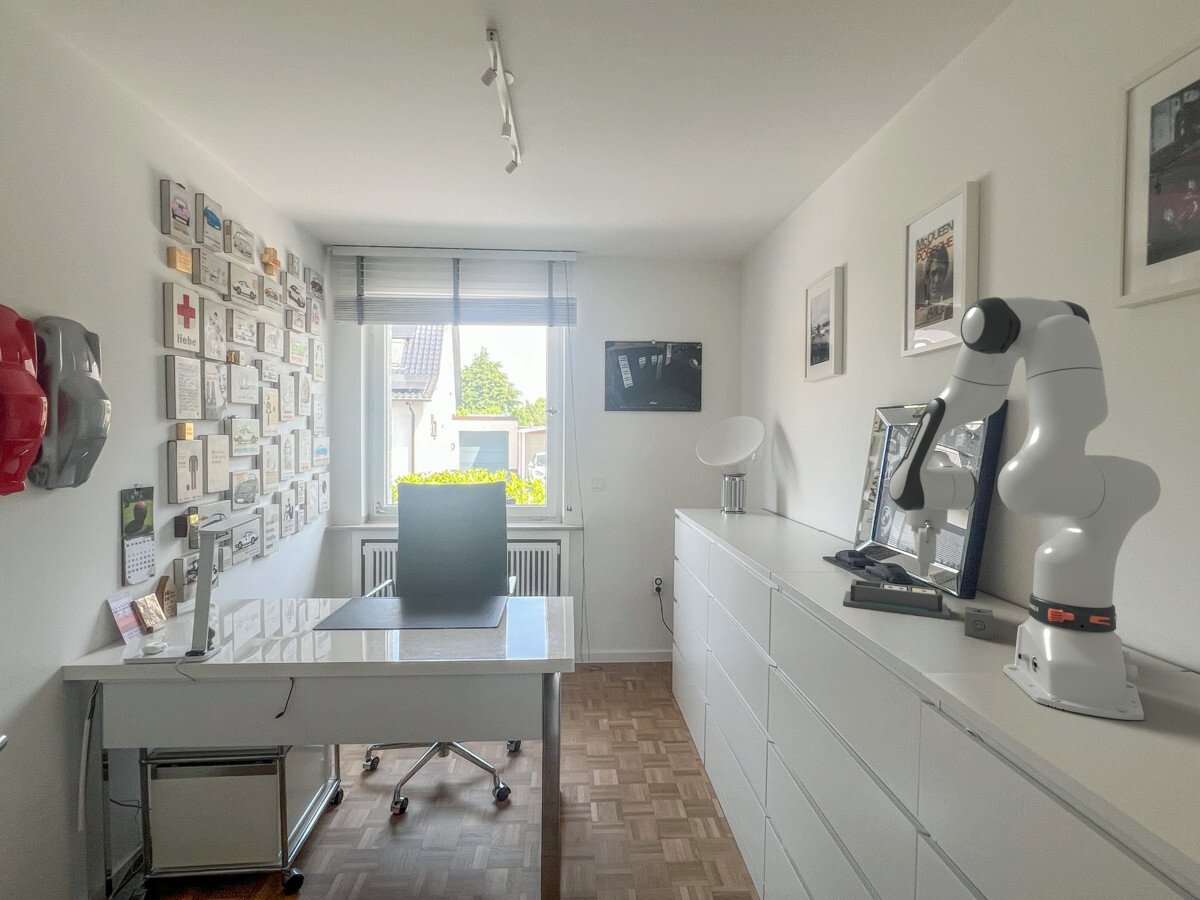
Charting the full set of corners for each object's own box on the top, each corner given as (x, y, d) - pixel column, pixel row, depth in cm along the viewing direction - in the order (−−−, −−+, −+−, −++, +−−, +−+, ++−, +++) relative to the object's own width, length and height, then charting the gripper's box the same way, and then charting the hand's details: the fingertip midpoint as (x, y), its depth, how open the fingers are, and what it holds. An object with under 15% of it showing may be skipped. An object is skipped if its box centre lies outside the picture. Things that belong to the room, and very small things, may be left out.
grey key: (906, 599, 156) (907, 590, 156) (883, 596, 158) (884, 588, 158) (906, 594, 161) (906, 586, 161) (884, 591, 163) (884, 584, 163)
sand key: (935, 602, 154) (936, 594, 154) (912, 599, 156) (912, 591, 156) (934, 597, 158) (934, 589, 158) (911, 595, 160) (912, 587, 160)
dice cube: (964, 635, 138) (965, 611, 138) (964, 629, 142) (965, 606, 142) (992, 639, 135) (993, 615, 135) (991, 633, 140) (992, 610, 140)
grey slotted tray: (949, 619, 150) (950, 598, 149) (842, 605, 159) (843, 586, 159) (946, 607, 160) (946, 588, 160) (846, 594, 170) (846, 576, 170)
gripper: (944, 525, 146) (941, 586, 147) (938, 514, 165) (935, 568, 165) (913, 522, 149) (909, 582, 149) (910, 512, 167) (908, 565, 168)
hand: (923, 575), depth 157 cm, fingers closed
